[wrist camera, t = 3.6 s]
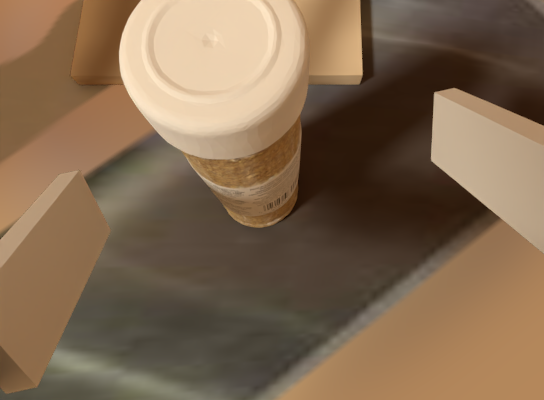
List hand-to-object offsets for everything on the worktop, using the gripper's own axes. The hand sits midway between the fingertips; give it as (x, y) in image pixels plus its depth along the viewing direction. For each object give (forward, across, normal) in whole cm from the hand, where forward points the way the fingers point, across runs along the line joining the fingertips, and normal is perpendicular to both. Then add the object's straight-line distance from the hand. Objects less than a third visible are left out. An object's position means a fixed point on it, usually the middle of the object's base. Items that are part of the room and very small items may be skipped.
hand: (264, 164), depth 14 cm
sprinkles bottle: (+6, -1, -5) cm, 8 cm away
